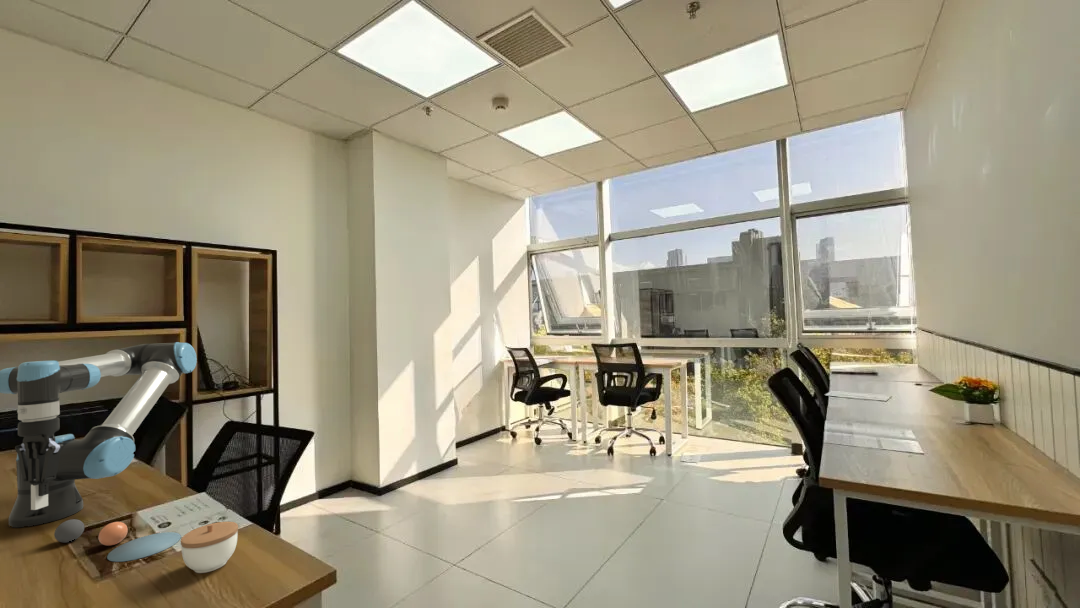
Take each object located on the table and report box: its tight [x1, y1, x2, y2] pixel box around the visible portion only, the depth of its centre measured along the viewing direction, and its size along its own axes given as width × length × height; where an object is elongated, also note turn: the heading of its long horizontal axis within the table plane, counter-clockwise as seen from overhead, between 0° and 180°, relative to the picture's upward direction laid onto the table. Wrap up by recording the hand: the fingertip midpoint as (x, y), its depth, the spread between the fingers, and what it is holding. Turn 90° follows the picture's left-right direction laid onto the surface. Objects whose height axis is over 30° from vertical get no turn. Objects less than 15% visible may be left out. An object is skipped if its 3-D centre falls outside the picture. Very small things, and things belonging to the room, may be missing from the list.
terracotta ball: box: [97, 521, 129, 547], centre depth 116 cm, size 6×6×6 cm
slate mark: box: [106, 531, 182, 563], centre depth 114 cm, size 14×14×1 cm
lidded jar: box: [180, 521, 239, 574], centre depth 104 cm, size 11×11×9 cm
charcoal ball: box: [53, 518, 85, 543], centre depth 119 cm, size 6×6×6 cm
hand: (39, 507), depth 120 cm, fingers closed
